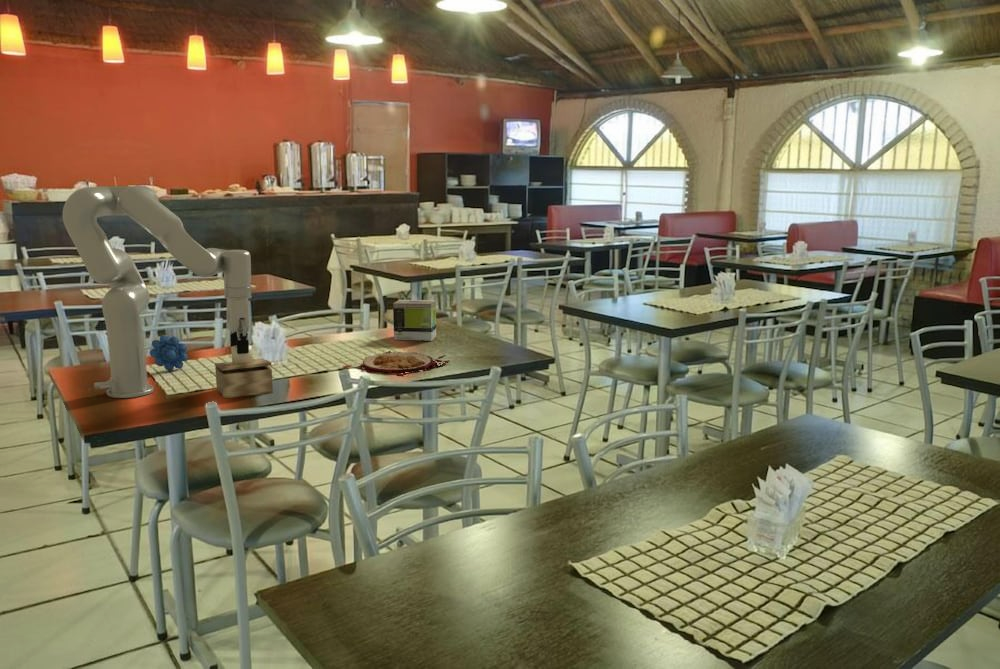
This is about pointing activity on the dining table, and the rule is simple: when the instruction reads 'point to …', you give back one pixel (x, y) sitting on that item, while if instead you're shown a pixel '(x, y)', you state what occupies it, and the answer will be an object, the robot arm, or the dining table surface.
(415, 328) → the tea box
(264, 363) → the lid
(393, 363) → the plate with food
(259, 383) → the carton
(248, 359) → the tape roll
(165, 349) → the blue flower
